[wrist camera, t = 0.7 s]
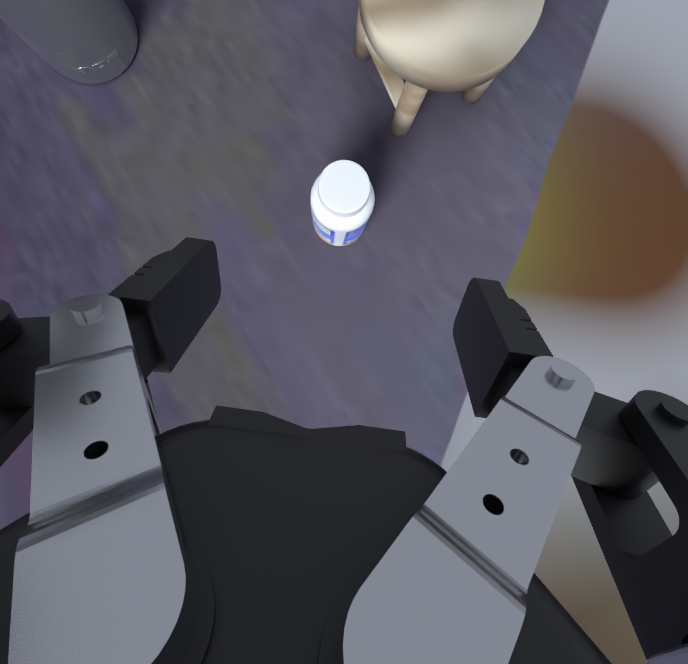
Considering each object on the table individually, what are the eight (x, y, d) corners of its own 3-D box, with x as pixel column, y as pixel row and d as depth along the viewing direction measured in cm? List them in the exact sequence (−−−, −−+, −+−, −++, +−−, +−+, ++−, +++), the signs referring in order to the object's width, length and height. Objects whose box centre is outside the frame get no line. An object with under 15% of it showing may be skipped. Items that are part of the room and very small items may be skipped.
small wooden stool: (326, 35, 35) (328, -78, 25) (449, -21, 35) (499, -154, 25) (386, 164, 36) (412, 106, 26) (505, 107, 36) (575, 28, 26)
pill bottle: (366, 195, 36) (382, 150, 26) (364, 248, 36) (380, 223, 26) (313, 192, 35) (310, 146, 26) (311, 246, 36) (308, 219, 26)
